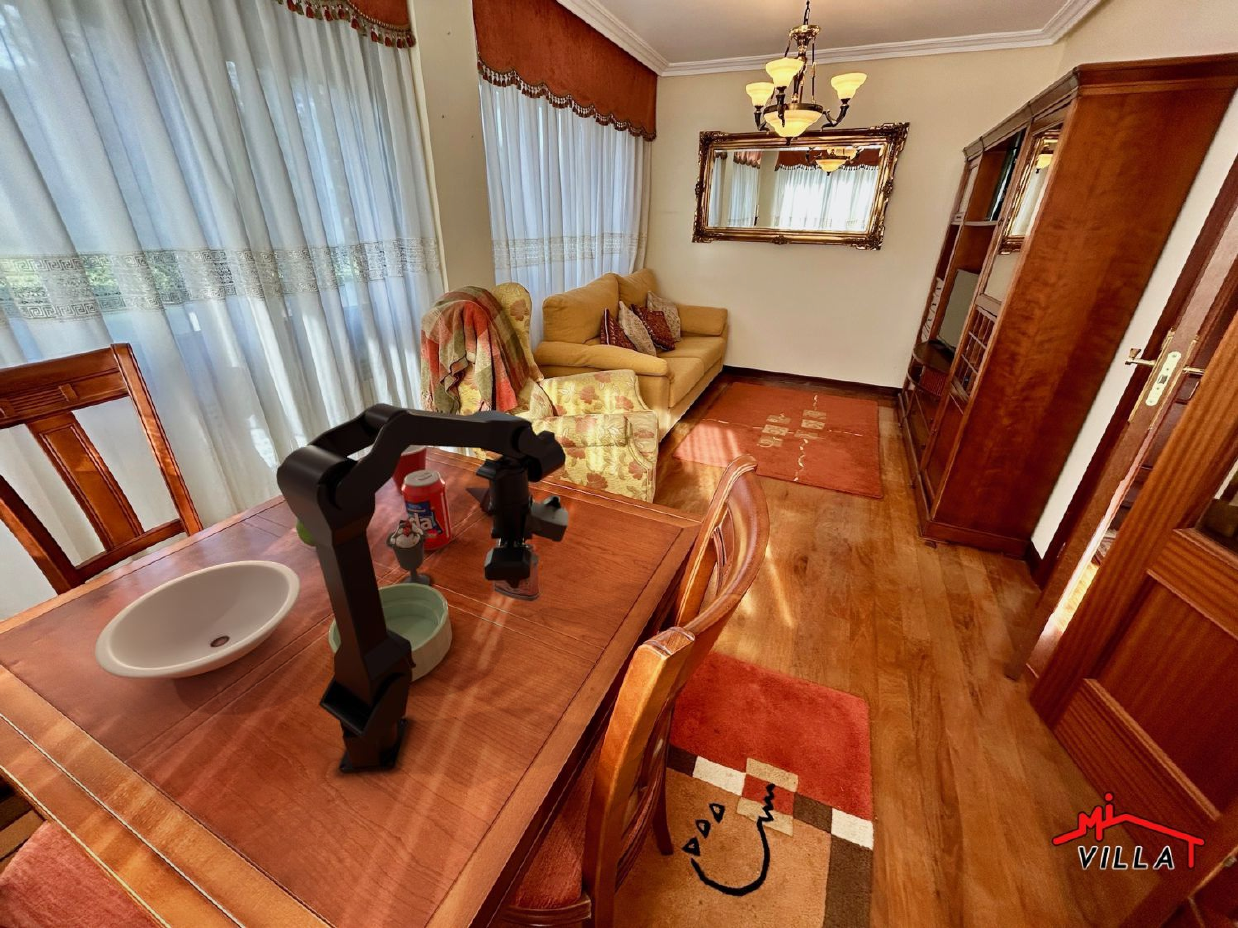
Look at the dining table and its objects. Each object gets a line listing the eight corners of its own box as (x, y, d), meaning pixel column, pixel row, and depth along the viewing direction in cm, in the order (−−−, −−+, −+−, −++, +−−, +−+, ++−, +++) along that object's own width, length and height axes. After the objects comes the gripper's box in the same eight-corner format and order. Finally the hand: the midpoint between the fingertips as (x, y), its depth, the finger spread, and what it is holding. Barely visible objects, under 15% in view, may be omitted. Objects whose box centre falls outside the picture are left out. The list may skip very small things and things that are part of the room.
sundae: (423, 599, 87) (409, 527, 80) (388, 593, 88) (372, 521, 81) (442, 575, 92) (431, 506, 86) (409, 570, 94) (396, 501, 87)
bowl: (439, 689, 71) (434, 659, 68) (318, 697, 69) (308, 666, 66) (460, 608, 85) (456, 581, 82) (361, 613, 83) (353, 585, 81)
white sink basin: (341, 624, 81) (332, 593, 78) (160, 744, 62) (139, 708, 59) (261, 573, 91) (250, 543, 89) (86, 662, 73) (65, 628, 70)
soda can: (461, 537, 103) (452, 473, 97) (432, 558, 97) (420, 491, 90) (433, 527, 106) (423, 464, 100) (403, 546, 100) (390, 480, 93)
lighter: (489, 592, 82) (484, 541, 77) (500, 579, 84) (496, 530, 80) (534, 604, 79) (531, 553, 75) (543, 590, 82) (541, 540, 78)
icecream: (452, 487, 109) (508, 510, 104) (473, 467, 114) (528, 487, 109) (459, 509, 114) (513, 532, 109) (479, 489, 118) (532, 509, 113)
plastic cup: (425, 475, 127) (418, 431, 122) (442, 492, 120) (435, 446, 114) (380, 487, 121) (371, 442, 115) (395, 506, 113) (386, 458, 108)
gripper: (564, 528, 66) (566, 617, 73) (564, 465, 83) (566, 543, 90) (479, 531, 65) (488, 621, 72) (496, 466, 82) (503, 544, 89)
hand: (516, 578), depth 81 cm, fingers closed on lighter, 4 cm apart
